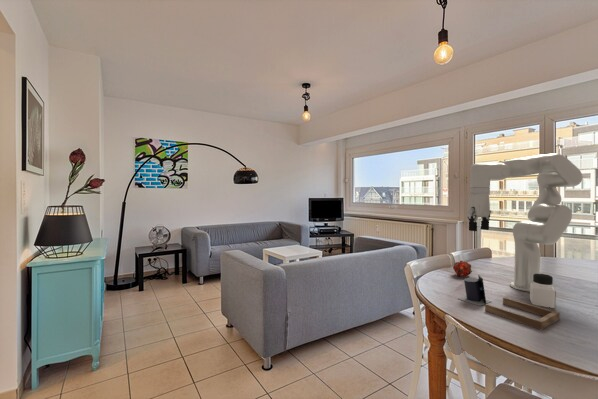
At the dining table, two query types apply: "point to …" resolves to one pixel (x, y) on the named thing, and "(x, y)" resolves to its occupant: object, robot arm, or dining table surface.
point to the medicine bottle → (542, 291)
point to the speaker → (475, 289)
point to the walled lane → (537, 323)
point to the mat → (474, 301)
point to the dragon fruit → (462, 268)
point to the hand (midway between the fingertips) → (478, 230)
